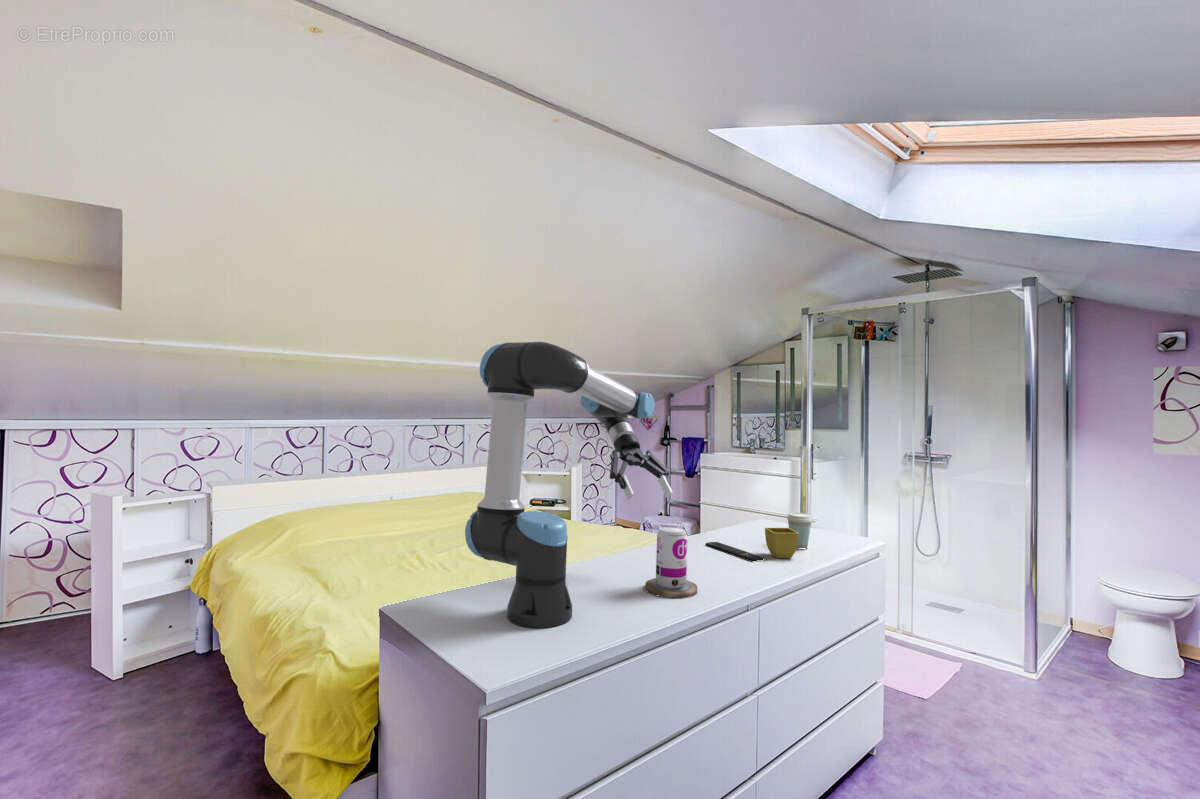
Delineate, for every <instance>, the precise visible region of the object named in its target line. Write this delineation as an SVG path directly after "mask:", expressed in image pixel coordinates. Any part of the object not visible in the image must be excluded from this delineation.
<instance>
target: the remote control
mask: <svg viewBox="0 0 1200 799" xmlns="http://www.w3.org/2000/svg"><path fill="white" fill-rule="evenodd" d="M706 545H708V546H707V547H709V546H711V547H710V548H712V547H713V548H712V549H715V548H716V549H715V550H718V549H719V550H718V551H721V550H722V551H721V552H723V551H725V552H724V553H726V552H728V553H727V554H729V553H731V554H730V555H732V554H734V555H733V556H735V555H736V557H738V556H739V557H738V558H741V557H742V558H741V559H743V558H745V559H744V560H746V559H748V560H747V561H749V560H751V561H750V562H752V561H756V562H758V561H757V560H763V559H764V560H765V557H763V556H761V555H757V554H754V553H752V552H748V551H745V550H743V549H739V548H736V547H733V546H731V545H727V544H725V543H721V542H719V541H709V542H705V546H706ZM764 560H763V561H764Z"/></svg>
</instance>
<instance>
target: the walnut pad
mask: <svg viewBox="0 0 1200 799" xmlns="http://www.w3.org/2000/svg"><path fill="white" fill-rule="evenodd" d="M644 586H645V591H646V590H647V591H648V592H647V591H646V592H647V593H649V594H651V595H653V594H654V595H653V596H656V595H659V596H658V597H660V596H663V597H662V598H665V597H672V598H671V599H686V598H685V597H687V598H691V597H693V596H695V595H696V594H697V593H698V585H697V584H696V583H695V582H694V581H690V580H688V579H686V585H684V587H682V588H678V589H669V588H664V587H661V586H659V585H658V583H657V582H656V577H655V578H651V579H649V580H648V579H647V581H645V584H644ZM683 597H684V598H683Z"/></svg>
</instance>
